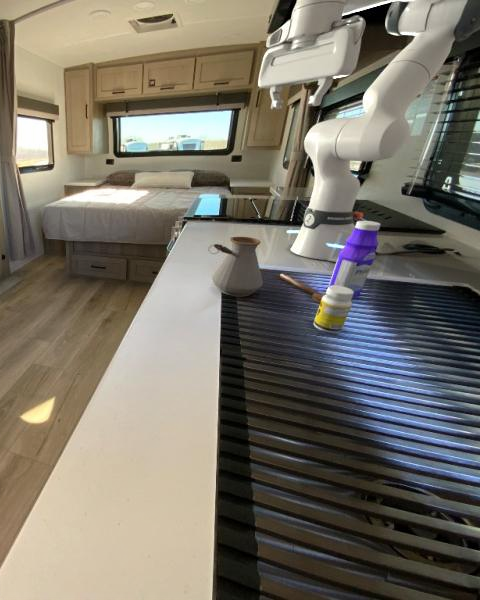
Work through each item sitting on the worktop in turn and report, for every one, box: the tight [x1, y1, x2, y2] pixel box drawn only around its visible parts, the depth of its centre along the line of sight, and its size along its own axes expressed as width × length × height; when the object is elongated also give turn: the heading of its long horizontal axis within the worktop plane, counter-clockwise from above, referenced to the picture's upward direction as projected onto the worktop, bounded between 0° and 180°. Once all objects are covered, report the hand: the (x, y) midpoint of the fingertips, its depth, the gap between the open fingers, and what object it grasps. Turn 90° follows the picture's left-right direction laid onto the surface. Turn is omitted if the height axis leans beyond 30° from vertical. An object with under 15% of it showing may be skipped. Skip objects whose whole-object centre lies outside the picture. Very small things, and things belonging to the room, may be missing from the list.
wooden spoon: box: [279, 273, 326, 304], centre depth 82 cm, size 17×4×1 cm, turn 8°
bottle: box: [327, 220, 382, 299], centre depth 76 cm, size 7×6×17 cm
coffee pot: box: [208, 236, 264, 298], centre depth 76 cm, size 21×12×15 cm, turn 132°
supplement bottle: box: [313, 285, 354, 334], centre depth 64 cm, size 5×5×8 cm
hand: (293, 107), depth 73 cm, fingers open, 8 cm apart
